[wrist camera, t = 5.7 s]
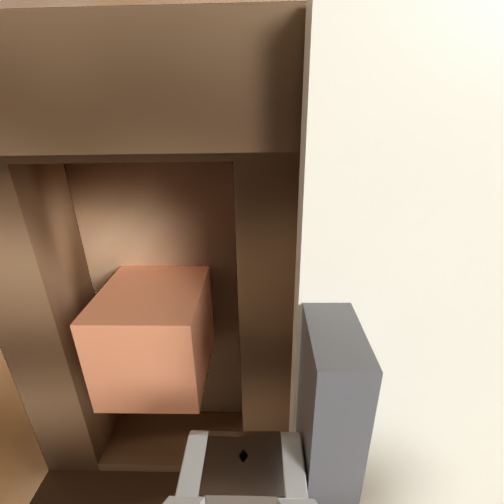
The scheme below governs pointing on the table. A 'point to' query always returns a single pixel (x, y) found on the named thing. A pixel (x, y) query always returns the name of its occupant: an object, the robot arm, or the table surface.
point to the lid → (401, 253)
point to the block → (147, 340)
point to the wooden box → (143, 151)
